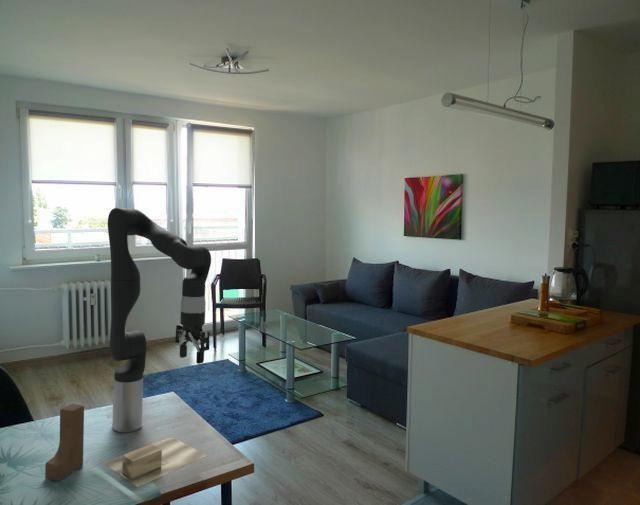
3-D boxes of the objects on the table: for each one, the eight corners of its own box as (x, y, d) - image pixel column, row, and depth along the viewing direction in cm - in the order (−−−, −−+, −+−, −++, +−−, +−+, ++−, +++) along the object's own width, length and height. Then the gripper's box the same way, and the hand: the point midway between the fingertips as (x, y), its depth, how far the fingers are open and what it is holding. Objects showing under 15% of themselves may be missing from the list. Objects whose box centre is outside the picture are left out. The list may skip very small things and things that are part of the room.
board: (103, 467, 136) (103, 463, 136) (171, 440, 154) (171, 436, 154) (137, 491, 125) (137, 486, 125) (206, 459, 143) (207, 455, 143)
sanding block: (122, 474, 130) (122, 455, 130) (151, 462, 137) (151, 443, 137) (132, 481, 127) (132, 461, 127) (161, 468, 134) (161, 449, 134)
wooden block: (57, 482, 127) (58, 417, 126) (44, 478, 128) (45, 414, 127) (83, 466, 136) (84, 405, 134) (71, 463, 137) (72, 403, 136)
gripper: (169, 307, 149) (167, 357, 150) (197, 314, 141) (195, 367, 142) (189, 305, 155) (187, 353, 156) (217, 311, 146) (215, 362, 148)
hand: (191, 360), depth 149 cm, fingers open, 8 cm apart
